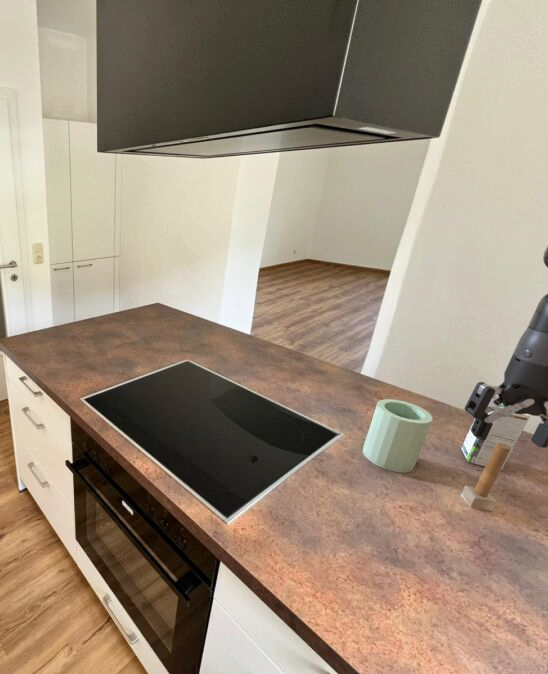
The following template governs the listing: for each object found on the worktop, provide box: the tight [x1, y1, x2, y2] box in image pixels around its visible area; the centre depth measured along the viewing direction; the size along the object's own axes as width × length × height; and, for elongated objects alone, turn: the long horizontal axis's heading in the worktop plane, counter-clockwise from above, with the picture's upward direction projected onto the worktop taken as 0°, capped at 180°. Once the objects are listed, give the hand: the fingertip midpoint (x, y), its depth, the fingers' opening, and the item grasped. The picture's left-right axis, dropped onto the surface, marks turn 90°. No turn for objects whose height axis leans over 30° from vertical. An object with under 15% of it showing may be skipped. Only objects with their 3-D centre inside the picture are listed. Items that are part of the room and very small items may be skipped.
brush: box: [460, 443, 511, 512], centre depth 67 cm, size 3×3×15 cm
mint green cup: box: [362, 398, 434, 474], centre depth 81 cm, size 9×9×13 cm
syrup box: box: [460, 403, 531, 471], centre depth 80 cm, size 6×6×14 cm
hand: (507, 441), depth 63 cm, fingers open, 8 cm apart
